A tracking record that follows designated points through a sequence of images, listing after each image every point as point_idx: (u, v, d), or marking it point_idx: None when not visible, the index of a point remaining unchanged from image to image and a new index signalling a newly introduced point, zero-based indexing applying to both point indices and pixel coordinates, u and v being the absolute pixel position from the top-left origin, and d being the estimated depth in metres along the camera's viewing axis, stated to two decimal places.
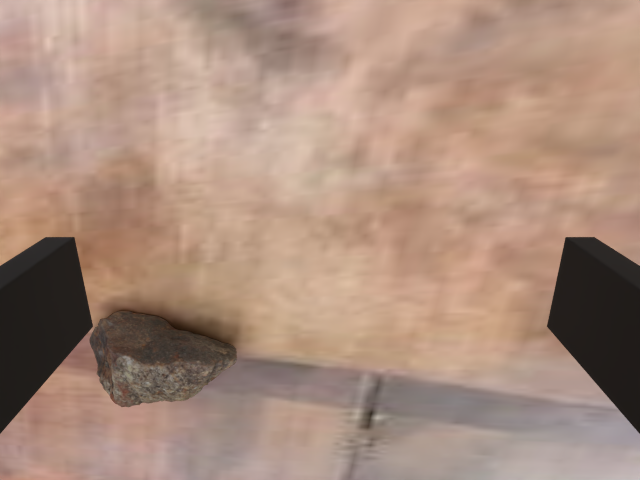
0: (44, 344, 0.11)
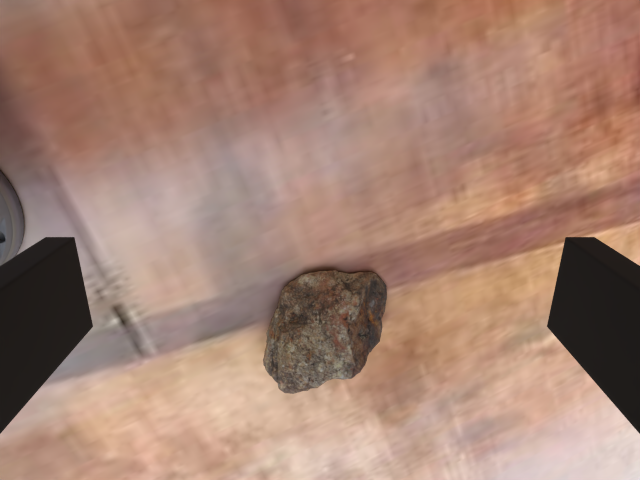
0: (44, 344, 0.11)
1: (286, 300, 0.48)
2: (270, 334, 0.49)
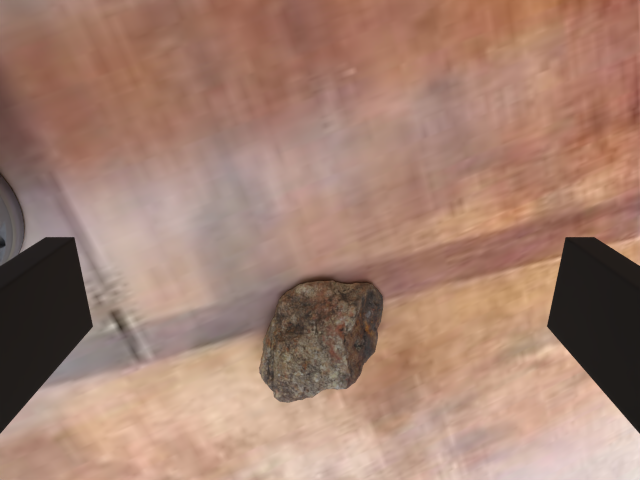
0: (44, 344, 0.11)
1: (283, 309, 0.48)
2: (266, 342, 0.49)
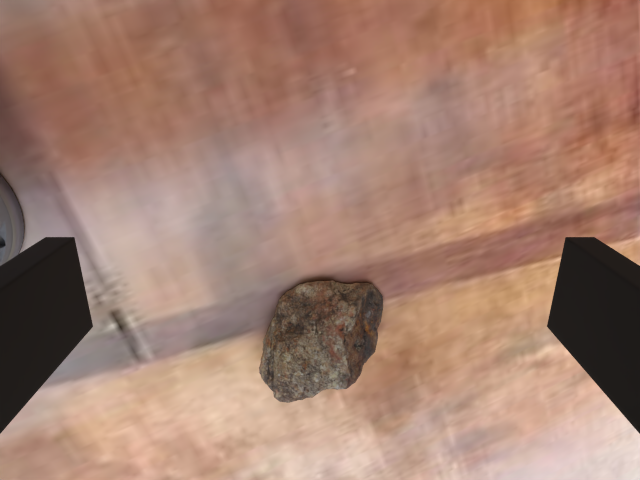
0: (44, 344, 0.11)
1: (283, 309, 0.48)
2: (266, 342, 0.49)
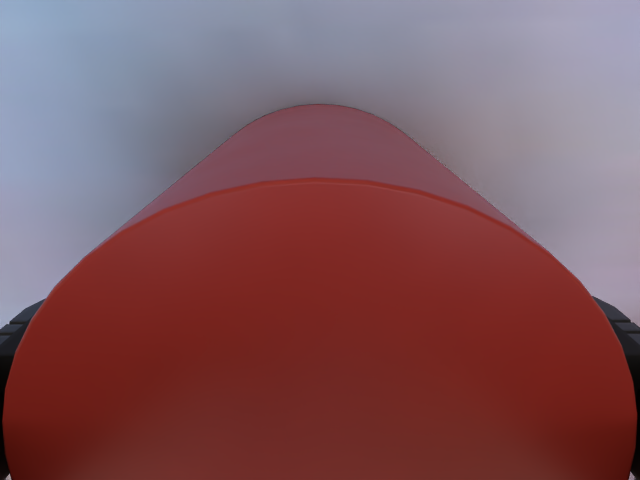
0: None
1: None
2: None
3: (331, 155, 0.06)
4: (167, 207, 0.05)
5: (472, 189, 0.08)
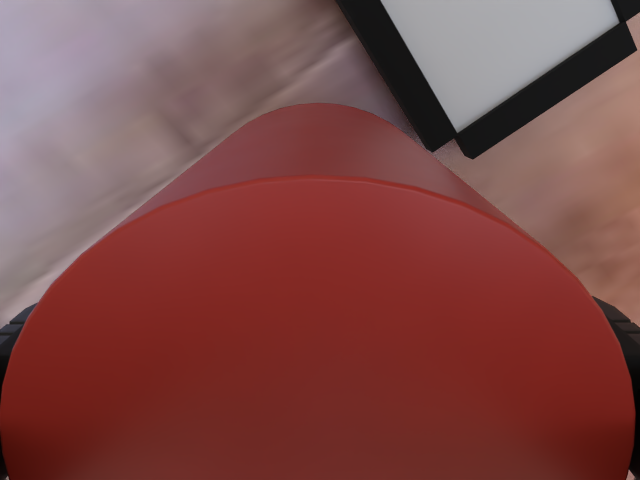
0: None
1: None
2: None
3: (328, 153, 0.06)
4: (163, 204, 0.05)
5: (470, 187, 0.08)
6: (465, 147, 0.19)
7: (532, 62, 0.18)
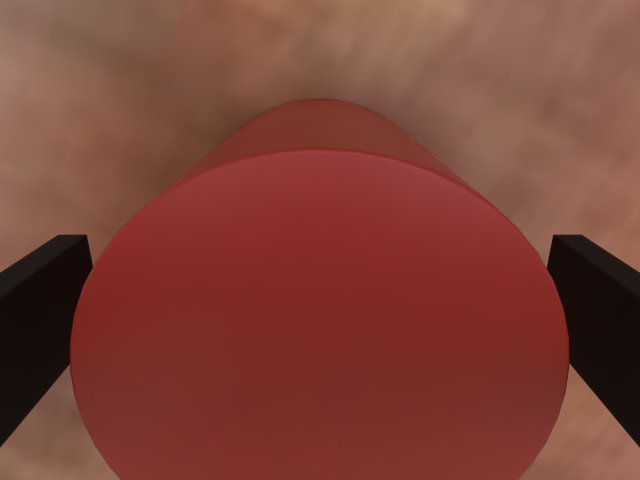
0: (58, 339, 0.11)
1: None
2: None
3: (328, 134, 0.08)
4: (204, 170, 0.07)
5: (445, 166, 0.09)
6: None
7: None
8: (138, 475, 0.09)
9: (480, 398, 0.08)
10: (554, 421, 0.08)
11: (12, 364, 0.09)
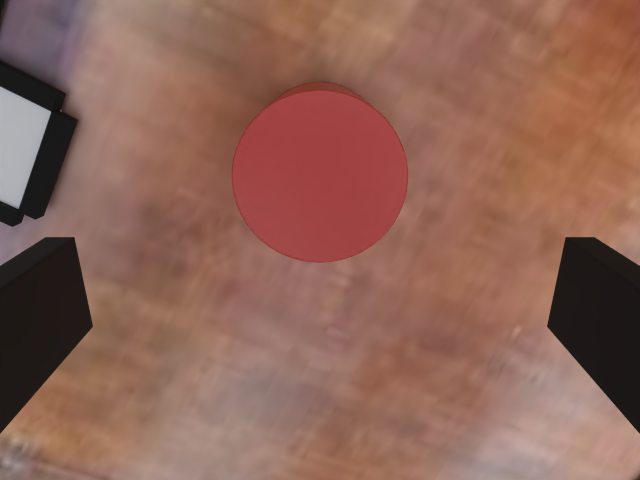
0: (44, 344, 0.11)
1: None
2: None
3: (323, 88, 0.23)
4: (283, 97, 0.21)
5: None
6: (27, 215, 0.32)
7: (27, 155, 0.31)
8: (251, 218, 0.24)
9: (377, 183, 0.23)
10: (405, 193, 0.23)
11: None
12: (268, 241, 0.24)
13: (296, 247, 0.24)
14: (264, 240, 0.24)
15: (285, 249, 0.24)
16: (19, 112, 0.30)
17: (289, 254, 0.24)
